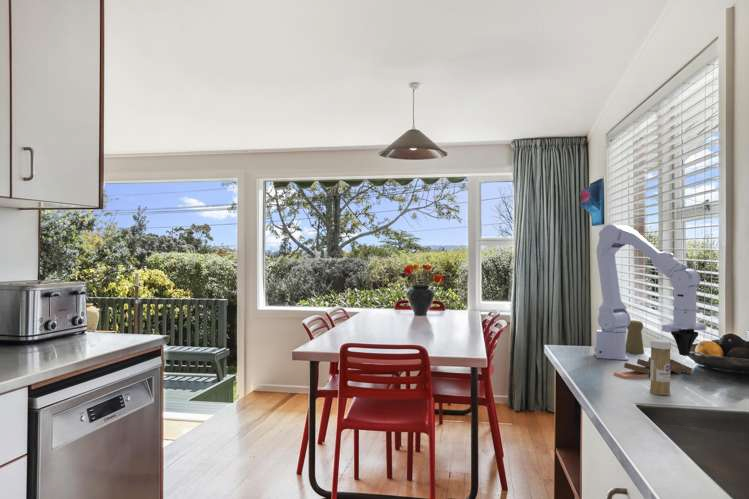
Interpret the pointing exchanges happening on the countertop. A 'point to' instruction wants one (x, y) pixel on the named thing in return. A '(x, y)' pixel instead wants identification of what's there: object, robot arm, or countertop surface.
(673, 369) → the domino
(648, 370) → the domino
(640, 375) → the domino
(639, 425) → the countertop surface
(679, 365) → the domino
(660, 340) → the toothpick jar
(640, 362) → the domino
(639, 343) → the cork
